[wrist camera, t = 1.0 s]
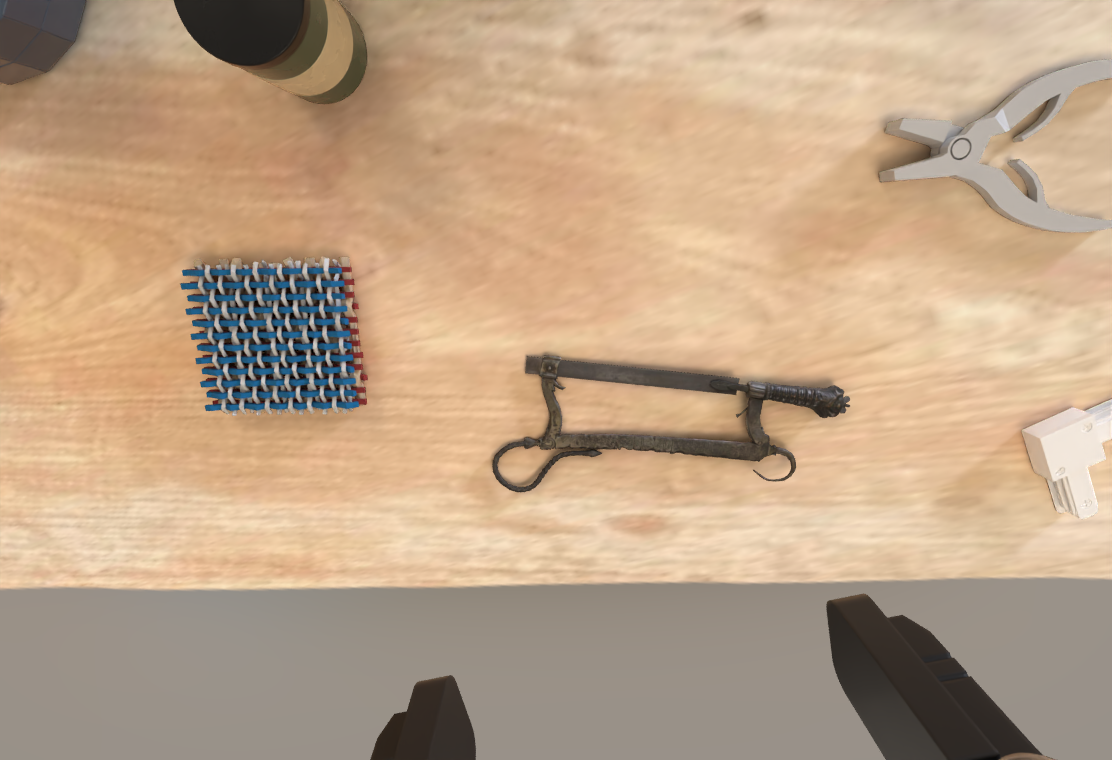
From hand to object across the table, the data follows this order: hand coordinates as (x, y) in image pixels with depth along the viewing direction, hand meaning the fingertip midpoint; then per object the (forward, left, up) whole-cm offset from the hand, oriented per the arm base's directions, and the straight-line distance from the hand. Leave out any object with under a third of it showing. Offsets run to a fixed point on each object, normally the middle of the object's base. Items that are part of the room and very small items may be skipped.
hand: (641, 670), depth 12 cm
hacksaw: (+5, +7, -28) cm, 29 cm away
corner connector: (+3, +38, -28) cm, 47 cm away
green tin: (-17, -17, -28) cm, 37 cm away
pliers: (-16, +25, -28) cm, 40 cm away
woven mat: (0, -20, -28) cm, 34 cm away
